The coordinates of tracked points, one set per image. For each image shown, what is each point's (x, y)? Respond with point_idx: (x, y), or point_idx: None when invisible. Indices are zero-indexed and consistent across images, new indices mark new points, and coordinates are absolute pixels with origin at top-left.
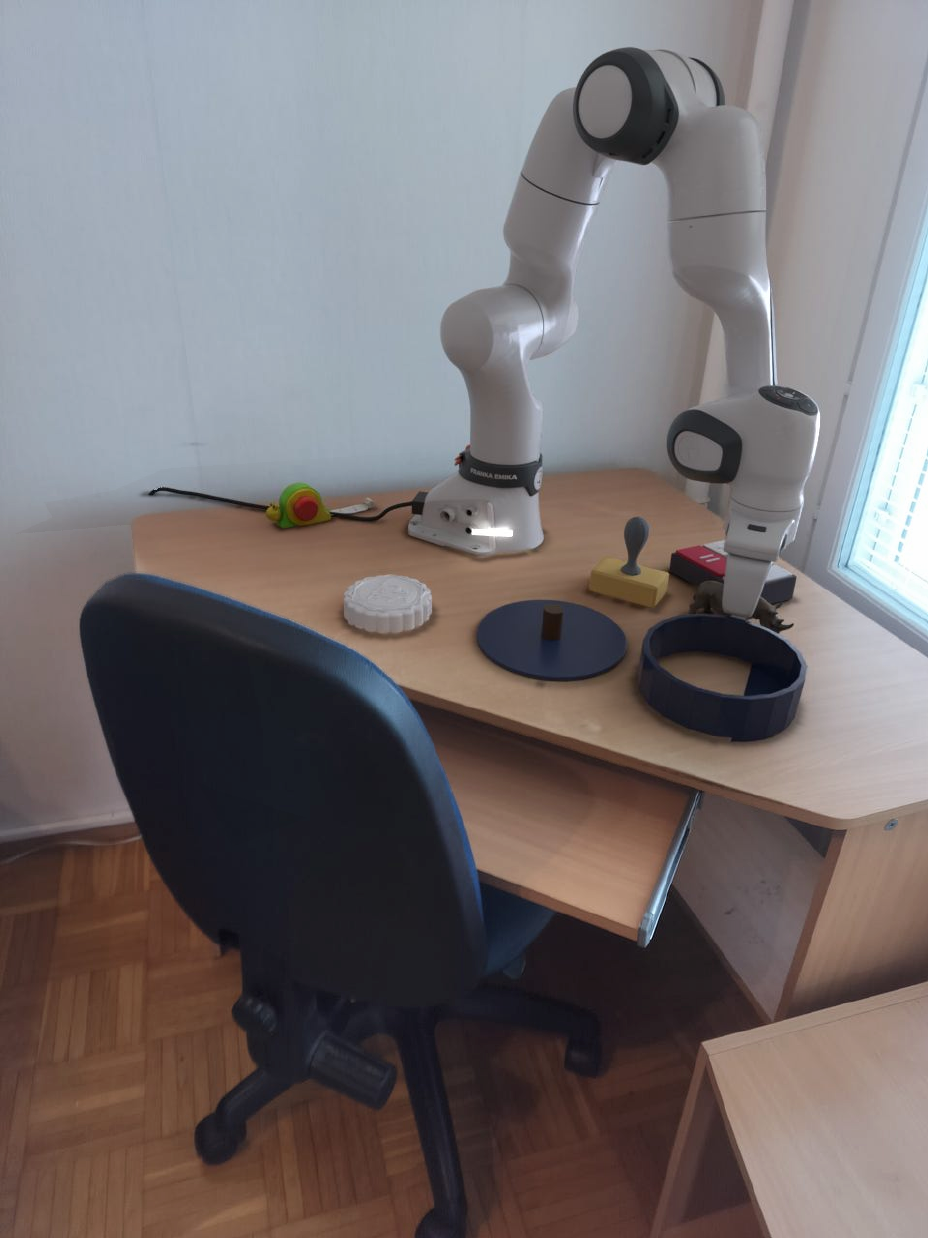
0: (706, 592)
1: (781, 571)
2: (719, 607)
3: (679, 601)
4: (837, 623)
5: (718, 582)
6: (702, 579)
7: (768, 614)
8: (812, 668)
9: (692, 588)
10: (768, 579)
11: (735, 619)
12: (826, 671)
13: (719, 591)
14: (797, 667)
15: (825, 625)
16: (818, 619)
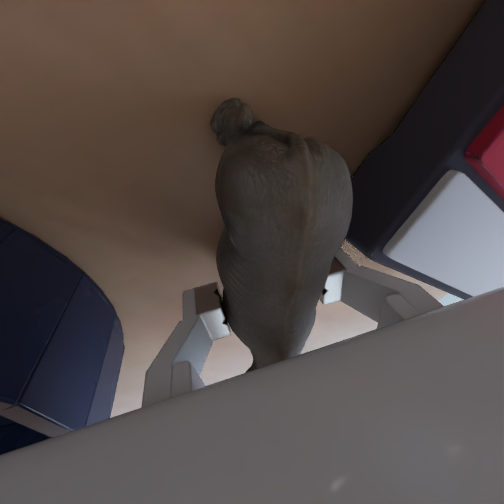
0: (233, 219)
1: (498, 282)
2: (218, 258)
3: (334, 6)
4: (361, 333)
5: (324, 251)
6: (483, 58)
7: (253, 360)
8: (203, 371)
9: (456, 17)
10: (450, 283)
11: (38, 428)
12: (210, 380)
13: (258, 273)
14: None
15: (348, 328)
16: (364, 316)
